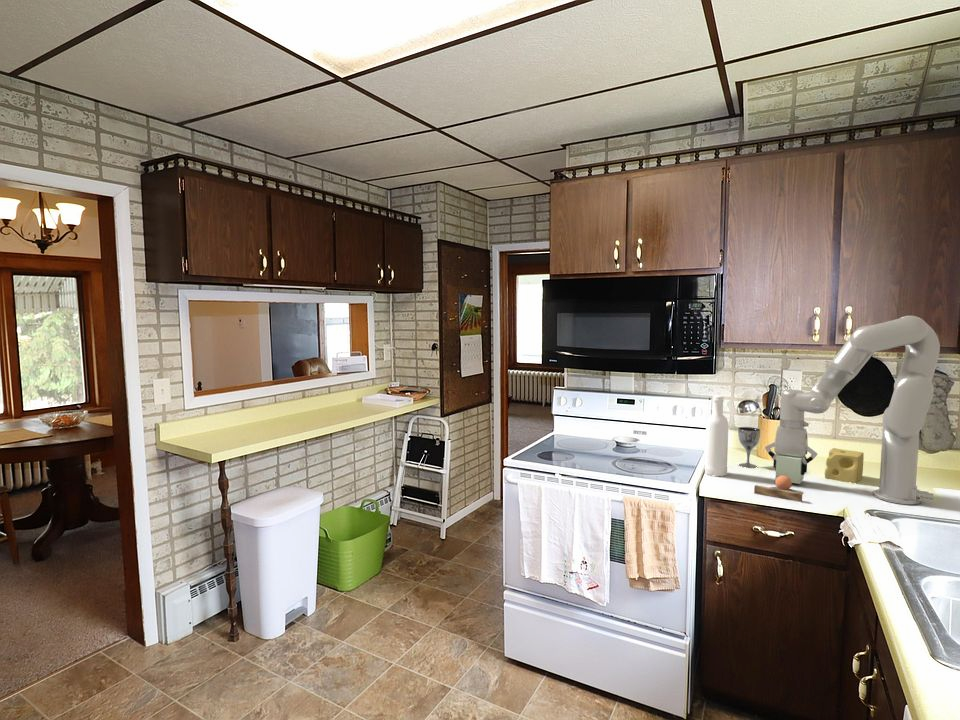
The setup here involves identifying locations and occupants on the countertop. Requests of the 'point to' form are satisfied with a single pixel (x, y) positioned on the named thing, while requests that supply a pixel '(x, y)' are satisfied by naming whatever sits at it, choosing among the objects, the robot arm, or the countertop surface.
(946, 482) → the countertop surface
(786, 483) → the ball
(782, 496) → the brown wooden bar
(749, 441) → the wine glass
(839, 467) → the cheese
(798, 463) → the pale green cube
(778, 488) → the spot
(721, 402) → the bottle
